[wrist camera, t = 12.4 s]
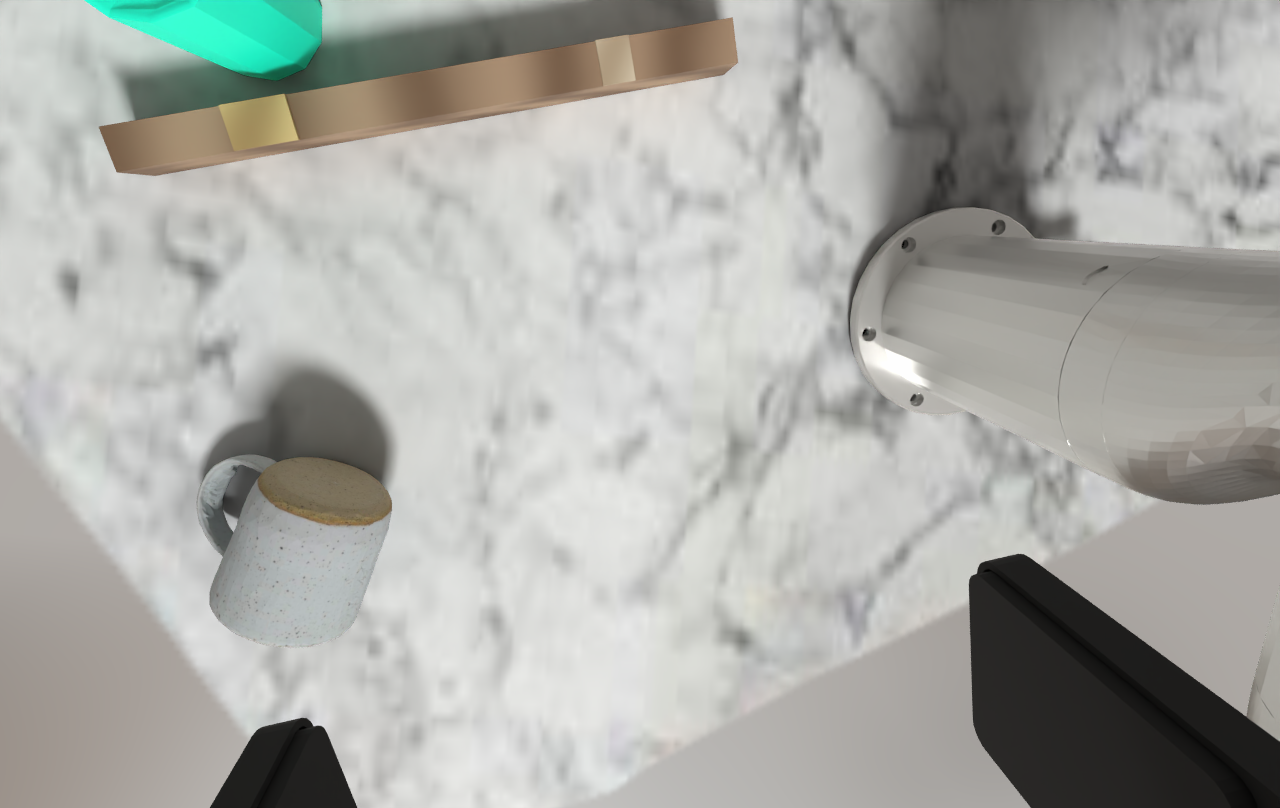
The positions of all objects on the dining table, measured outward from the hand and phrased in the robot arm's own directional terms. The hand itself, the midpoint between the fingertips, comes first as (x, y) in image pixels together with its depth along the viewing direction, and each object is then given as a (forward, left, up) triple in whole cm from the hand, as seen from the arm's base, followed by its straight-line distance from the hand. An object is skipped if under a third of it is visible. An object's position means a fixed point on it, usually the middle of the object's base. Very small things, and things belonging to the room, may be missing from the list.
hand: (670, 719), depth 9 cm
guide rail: (+5, -14, -30) cm, 34 cm away
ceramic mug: (+19, +7, -31) cm, 37 cm away
